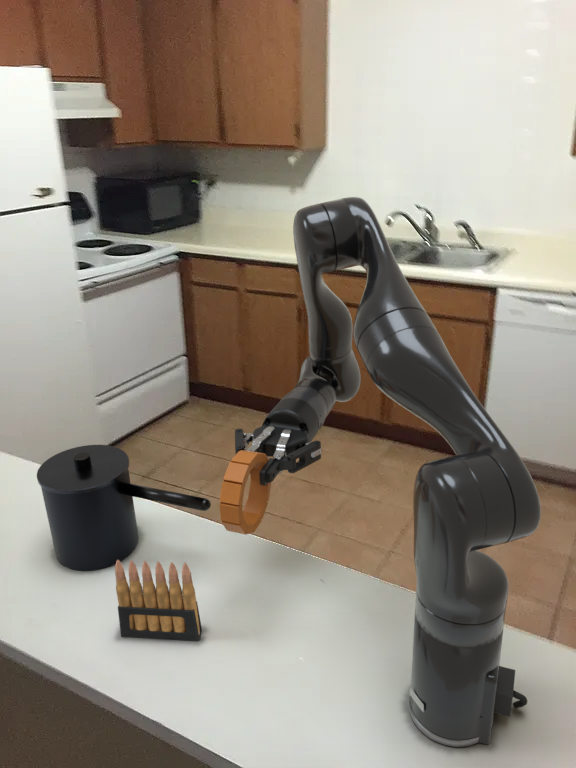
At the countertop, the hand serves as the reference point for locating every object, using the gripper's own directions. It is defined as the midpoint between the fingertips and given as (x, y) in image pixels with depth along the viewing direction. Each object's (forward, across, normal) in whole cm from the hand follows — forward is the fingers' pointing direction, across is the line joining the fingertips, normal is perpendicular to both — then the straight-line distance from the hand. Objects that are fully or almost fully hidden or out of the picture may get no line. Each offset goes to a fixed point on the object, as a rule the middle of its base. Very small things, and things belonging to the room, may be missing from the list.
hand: (251, 477), depth 87 cm
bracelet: (+1, 0, +6) cm, 7 cm away
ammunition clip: (+11, -10, +20) cm, 25 cm away
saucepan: (-3, -22, +20) cm, 30 cm away
